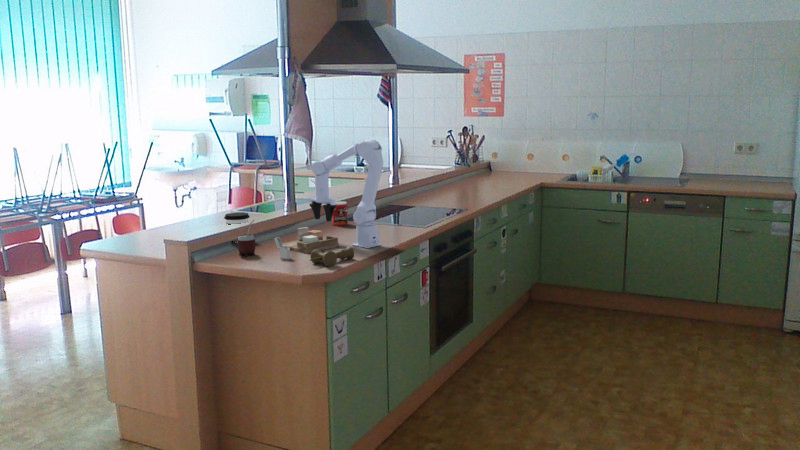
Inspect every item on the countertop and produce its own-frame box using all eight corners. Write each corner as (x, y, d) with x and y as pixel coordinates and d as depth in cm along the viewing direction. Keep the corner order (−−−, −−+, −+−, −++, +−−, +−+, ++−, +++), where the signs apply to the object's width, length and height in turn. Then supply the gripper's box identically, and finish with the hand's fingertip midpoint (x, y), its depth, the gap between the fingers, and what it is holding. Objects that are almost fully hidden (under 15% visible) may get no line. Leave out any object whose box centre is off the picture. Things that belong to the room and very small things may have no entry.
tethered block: (323, 241, 294) (322, 229, 293) (314, 243, 291) (313, 231, 290) (306, 238, 302) (306, 226, 301) (297, 239, 298) (297, 228, 297)
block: (318, 247, 284) (317, 236, 283) (309, 249, 281) (309, 238, 280) (311, 245, 287) (310, 235, 286) (302, 247, 284) (302, 236, 283)
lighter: (290, 258, 270) (289, 238, 269) (287, 259, 269) (286, 239, 268) (278, 256, 275) (277, 236, 273) (274, 257, 273) (273, 237, 272)
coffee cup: (240, 237, 313) (239, 211, 311) (256, 240, 306) (254, 213, 304) (220, 241, 305) (218, 214, 303) (235, 244, 298) (234, 217, 296)
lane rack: (338, 246, 291) (338, 237, 290) (306, 253, 279) (305, 244, 278) (310, 240, 304) (310, 232, 303) (278, 246, 292) (277, 238, 291)
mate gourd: (239, 253, 281) (237, 216, 279) (259, 252, 282) (257, 216, 279) (236, 257, 274) (234, 220, 271) (256, 256, 274) (254, 219, 272)
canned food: (333, 226, 336) (332, 204, 334) (330, 223, 344) (330, 201, 342) (349, 225, 338) (348, 203, 336) (346, 222, 346) (345, 200, 344)
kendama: (359, 261, 266) (318, 270, 252) (343, 258, 273) (302, 266, 259) (359, 246, 265) (317, 253, 251) (342, 243, 272) (301, 250, 258)
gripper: (340, 189, 296) (341, 220, 298) (318, 186, 305) (319, 216, 308) (327, 191, 291) (328, 222, 293) (305, 188, 300) (307, 219, 303)
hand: (323, 220), depth 300 cm, fingers open, 7 cm apart
